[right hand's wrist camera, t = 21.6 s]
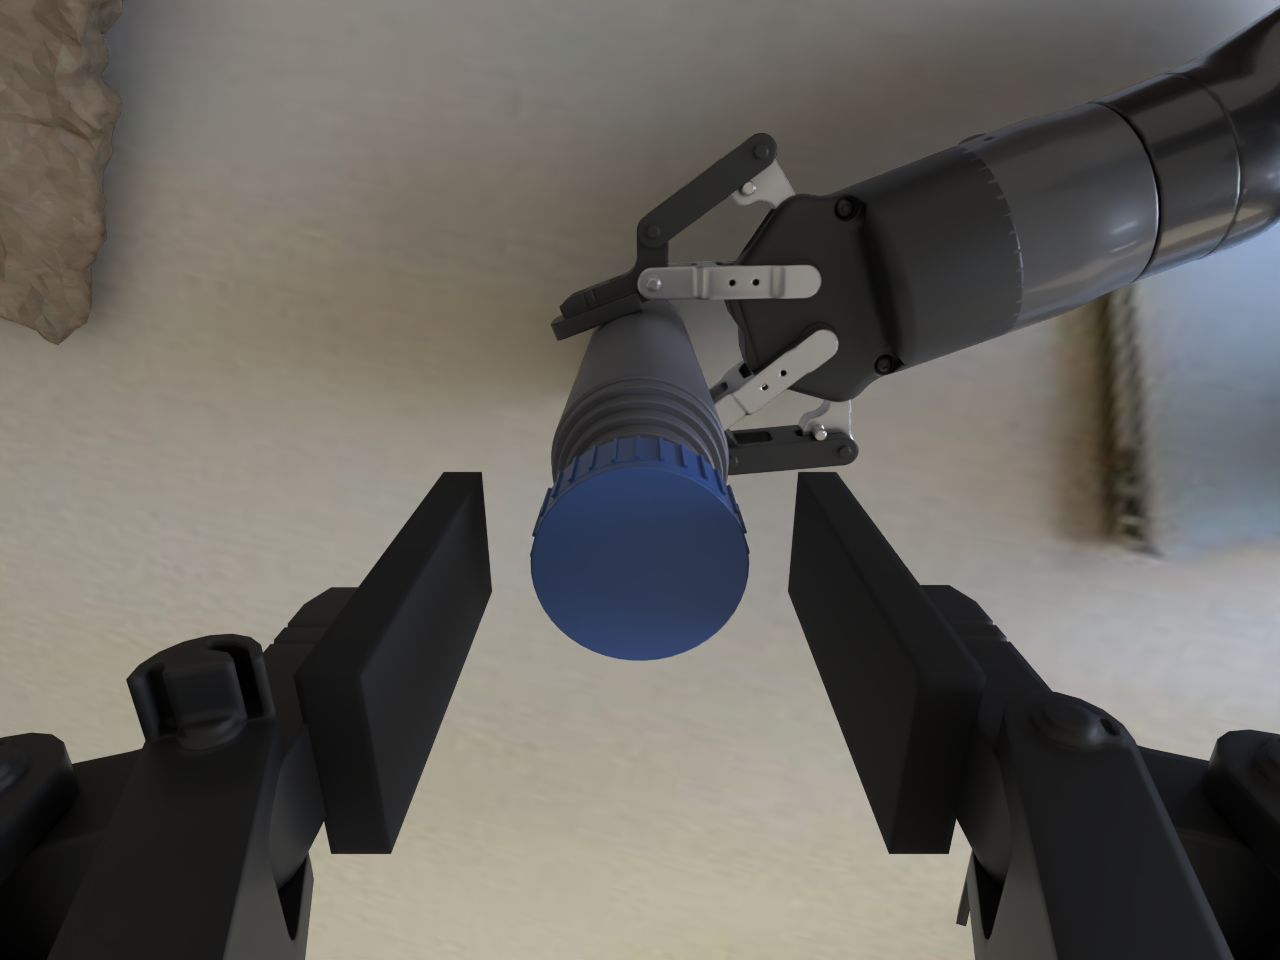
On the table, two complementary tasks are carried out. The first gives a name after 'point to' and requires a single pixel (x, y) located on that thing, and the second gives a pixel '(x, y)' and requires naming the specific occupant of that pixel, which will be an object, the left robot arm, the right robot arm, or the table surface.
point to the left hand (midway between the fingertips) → (582, 388)
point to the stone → (53, 158)
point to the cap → (639, 550)
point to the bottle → (640, 391)
